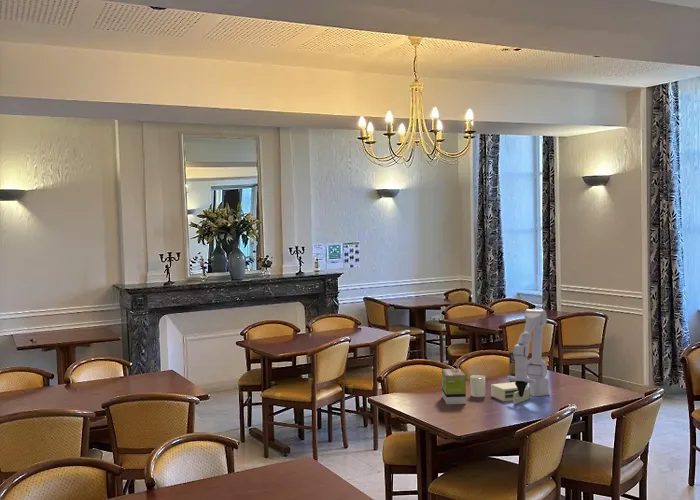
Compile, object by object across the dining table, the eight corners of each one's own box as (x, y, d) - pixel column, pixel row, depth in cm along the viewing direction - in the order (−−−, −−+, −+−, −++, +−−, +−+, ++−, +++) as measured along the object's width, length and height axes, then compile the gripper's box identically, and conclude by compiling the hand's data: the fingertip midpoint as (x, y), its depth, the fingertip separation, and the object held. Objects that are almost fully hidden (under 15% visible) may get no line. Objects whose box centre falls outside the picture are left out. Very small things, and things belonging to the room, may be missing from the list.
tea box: (441, 397, 350) (441, 368, 350) (461, 396, 350) (460, 368, 350) (446, 404, 335) (445, 374, 335) (466, 404, 335) (466, 374, 335)
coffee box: (509, 380, 385) (508, 352, 384) (519, 379, 386) (519, 351, 386) (516, 384, 376) (516, 355, 376) (527, 383, 378) (527, 354, 377)
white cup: (485, 397, 347) (485, 378, 347) (470, 397, 349) (469, 377, 348) (485, 394, 355) (485, 375, 354) (470, 393, 356) (470, 374, 356)
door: (528, 398, 344) (528, 387, 344) (531, 398, 343) (531, 387, 343) (513, 403, 333) (513, 392, 333) (516, 404, 332) (516, 393, 332)
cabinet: (514, 393, 355) (514, 382, 355) (527, 398, 344) (527, 386, 344) (491, 395, 351) (491, 384, 351) (503, 401, 340) (503, 389, 340)
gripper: (503, 368, 337) (504, 395, 337) (531, 372, 327) (531, 400, 328) (510, 366, 342) (511, 393, 342) (537, 369, 332) (538, 397, 333)
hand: (521, 396), depth 335 cm, fingers closed
